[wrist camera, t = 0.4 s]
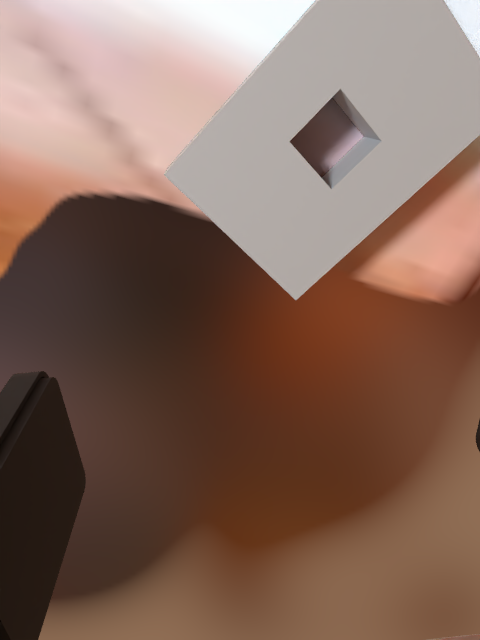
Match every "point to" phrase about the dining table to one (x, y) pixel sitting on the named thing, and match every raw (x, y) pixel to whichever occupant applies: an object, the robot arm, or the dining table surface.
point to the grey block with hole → (362, 109)
